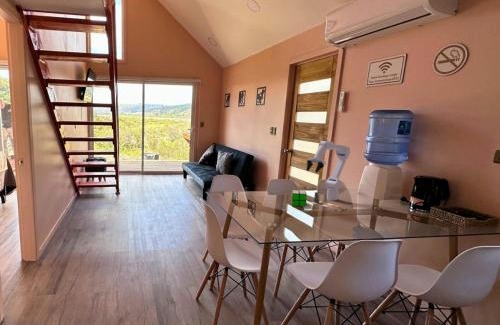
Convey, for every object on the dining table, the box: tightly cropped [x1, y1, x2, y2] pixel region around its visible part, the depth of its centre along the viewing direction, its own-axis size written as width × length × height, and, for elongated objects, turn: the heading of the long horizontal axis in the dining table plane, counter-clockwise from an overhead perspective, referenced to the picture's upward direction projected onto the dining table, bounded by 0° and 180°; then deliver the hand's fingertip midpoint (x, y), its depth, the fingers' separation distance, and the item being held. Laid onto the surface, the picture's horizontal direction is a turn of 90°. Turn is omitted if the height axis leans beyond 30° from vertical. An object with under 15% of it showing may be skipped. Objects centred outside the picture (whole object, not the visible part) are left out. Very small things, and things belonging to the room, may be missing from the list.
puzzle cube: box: [291, 189, 307, 208], centre depth 218 cm, size 10×10×10 cm
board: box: [309, 200, 348, 212], centre depth 216 cm, size 10×25×1 cm, turn 43°
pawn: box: [312, 191, 320, 204], centre depth 223 cm, size 4×4×8 cm
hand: (311, 171), depth 213 cm, fingers open, 7 cm apart
